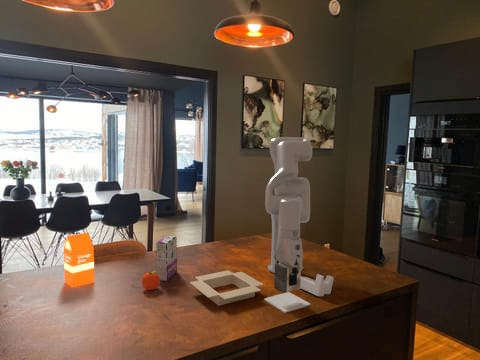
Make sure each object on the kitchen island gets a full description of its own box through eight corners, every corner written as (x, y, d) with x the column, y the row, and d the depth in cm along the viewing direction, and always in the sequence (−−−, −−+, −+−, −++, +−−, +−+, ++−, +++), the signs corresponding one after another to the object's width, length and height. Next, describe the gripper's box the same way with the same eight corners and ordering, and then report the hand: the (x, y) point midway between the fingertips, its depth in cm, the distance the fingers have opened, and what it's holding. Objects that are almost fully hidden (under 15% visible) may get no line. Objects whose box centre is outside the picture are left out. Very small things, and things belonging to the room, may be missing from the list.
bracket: (329, 296, 144) (333, 277, 145) (317, 296, 140) (322, 276, 140) (305, 285, 155) (309, 267, 155) (293, 284, 151) (297, 266, 151)
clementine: (156, 283, 151) (156, 266, 150) (165, 289, 146) (165, 271, 145) (138, 289, 145) (138, 271, 145) (147, 294, 140) (147, 276, 140)
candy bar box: (166, 271, 165) (166, 235, 163) (177, 272, 164) (177, 235, 162) (156, 280, 154) (155, 241, 153) (167, 281, 153) (167, 242, 152)
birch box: (291, 284, 139) (292, 260, 138) (300, 288, 135) (301, 264, 134) (274, 288, 135) (274, 264, 134) (282, 293, 131) (283, 268, 130)
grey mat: (288, 293, 144) (288, 291, 144) (310, 305, 134) (310, 303, 134) (263, 299, 138) (263, 298, 138) (284, 312, 128) (284, 311, 127)
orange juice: (94, 282, 151) (93, 234, 149) (72, 288, 145) (71, 238, 143) (86, 277, 157) (84, 230, 155) (64, 282, 150) (62, 234, 148)
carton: (236, 277, 159) (236, 268, 159) (269, 298, 139) (269, 287, 139) (185, 288, 146) (185, 278, 146) (213, 312, 127) (214, 301, 126)
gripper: (313, 237, 128) (311, 288, 130) (282, 227, 142) (280, 273, 144) (297, 239, 124) (295, 292, 126) (266, 229, 138) (265, 276, 140)
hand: (287, 281), depth 135 cm, fingers closed on birch box, 5 cm apart
